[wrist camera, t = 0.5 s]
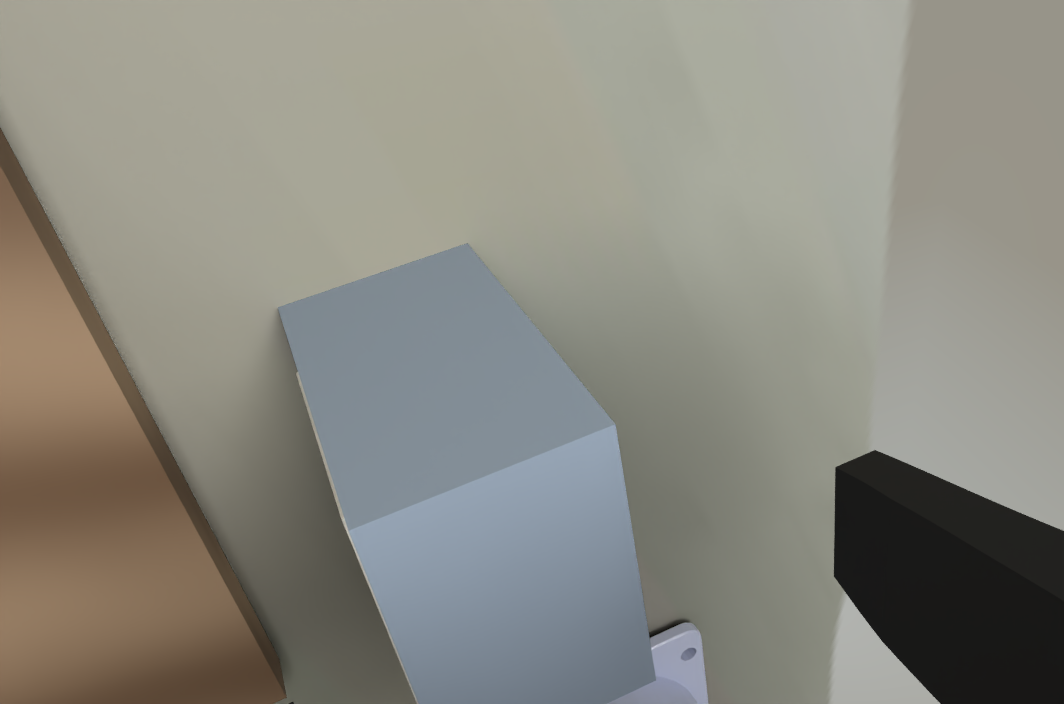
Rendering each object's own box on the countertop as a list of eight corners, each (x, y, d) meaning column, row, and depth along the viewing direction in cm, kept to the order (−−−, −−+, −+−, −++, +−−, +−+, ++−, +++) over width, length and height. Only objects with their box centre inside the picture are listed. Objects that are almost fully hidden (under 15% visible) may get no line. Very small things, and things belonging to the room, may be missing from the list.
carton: (466, 242, 19) (615, 424, 13) (519, 460, 22) (656, 680, 16) (273, 308, 18) (342, 533, 12) (359, 524, 21) (444, 780, 15)
